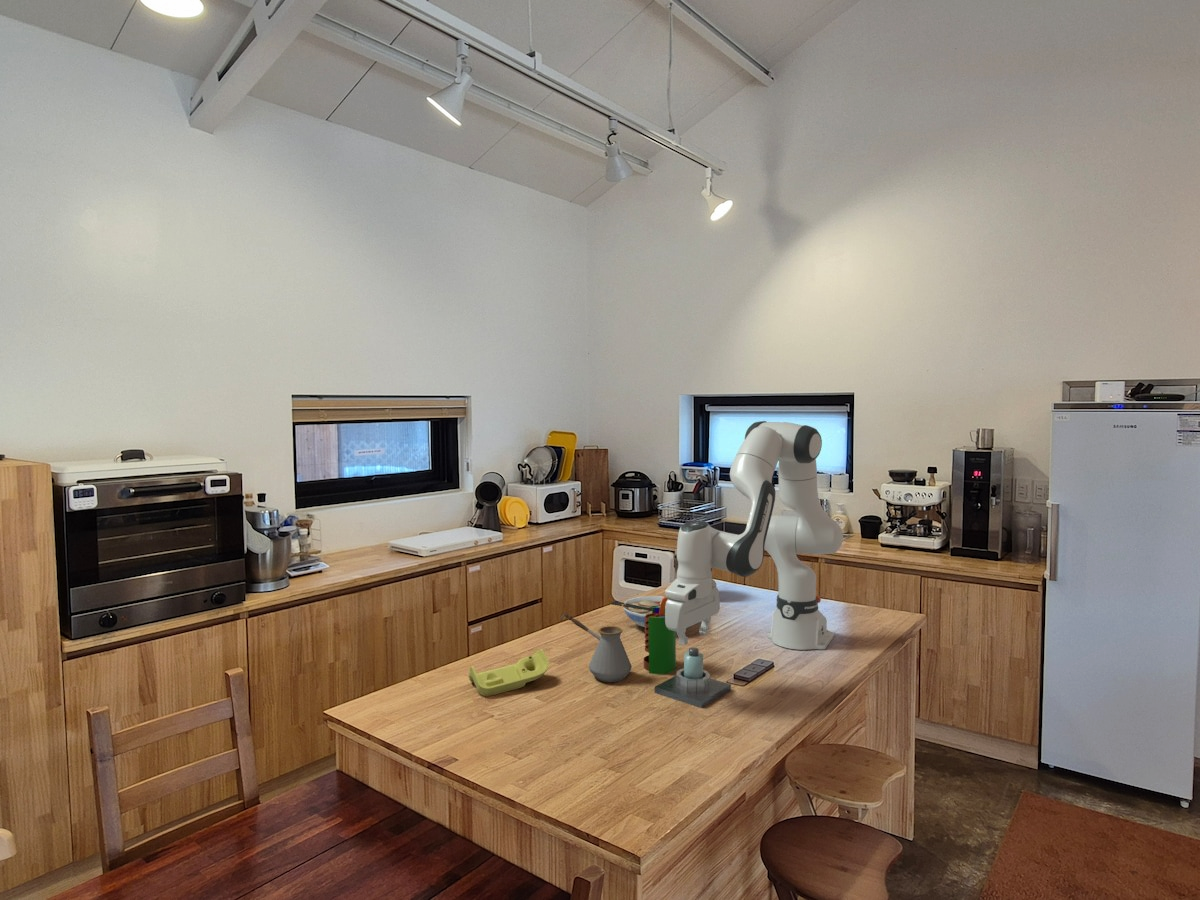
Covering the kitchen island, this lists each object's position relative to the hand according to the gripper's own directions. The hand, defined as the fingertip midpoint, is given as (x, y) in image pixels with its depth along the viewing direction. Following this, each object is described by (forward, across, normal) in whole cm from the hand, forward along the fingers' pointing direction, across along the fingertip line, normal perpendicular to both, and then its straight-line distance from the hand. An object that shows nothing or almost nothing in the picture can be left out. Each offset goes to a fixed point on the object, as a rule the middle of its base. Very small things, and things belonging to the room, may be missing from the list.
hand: (693, 638), depth 182 cm
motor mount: (+14, +1, 0) cm, 14 cm away
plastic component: (+14, +28, -38) cm, 49 cm away
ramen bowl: (+15, -35, -37) cm, 53 cm away
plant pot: (+15, -71, -46) cm, 86 cm away
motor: (+14, -7, -16) cm, 22 cm away
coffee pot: (+14, +8, -27) cm, 31 cm away
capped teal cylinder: (+12, 0, 0) cm, 12 cm away
